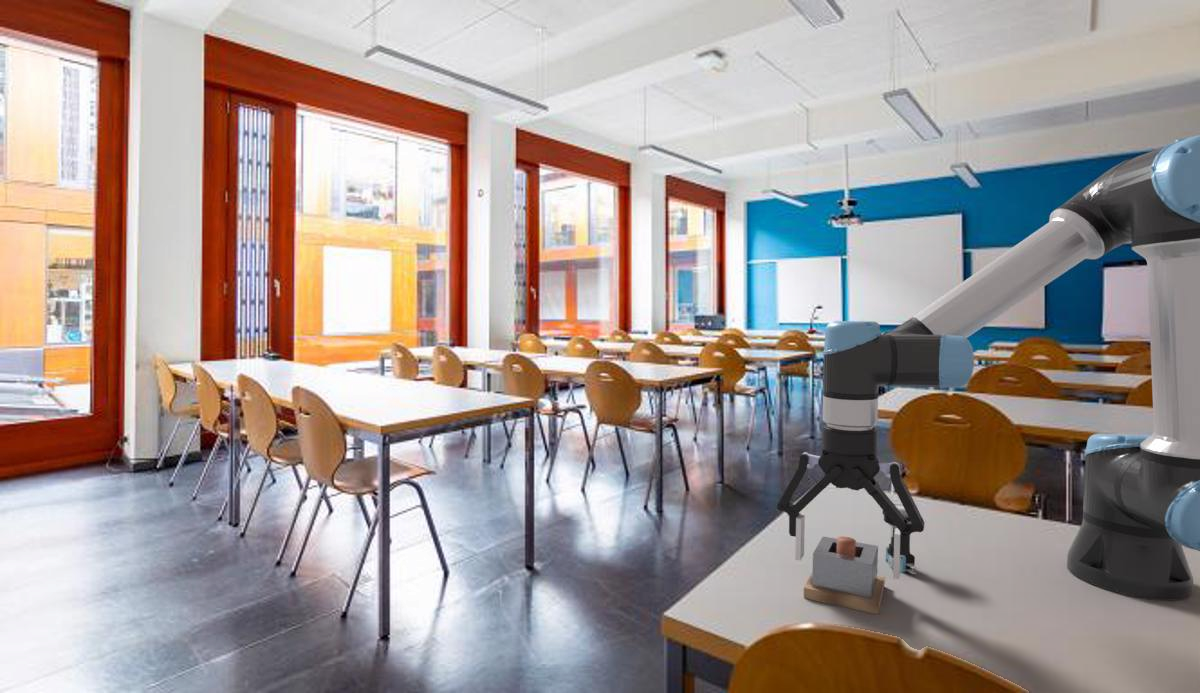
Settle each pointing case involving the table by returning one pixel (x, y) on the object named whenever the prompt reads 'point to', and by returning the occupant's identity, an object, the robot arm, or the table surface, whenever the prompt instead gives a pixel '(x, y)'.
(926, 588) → the table surface
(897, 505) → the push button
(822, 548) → the grey slotted box
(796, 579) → the table surface
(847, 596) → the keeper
